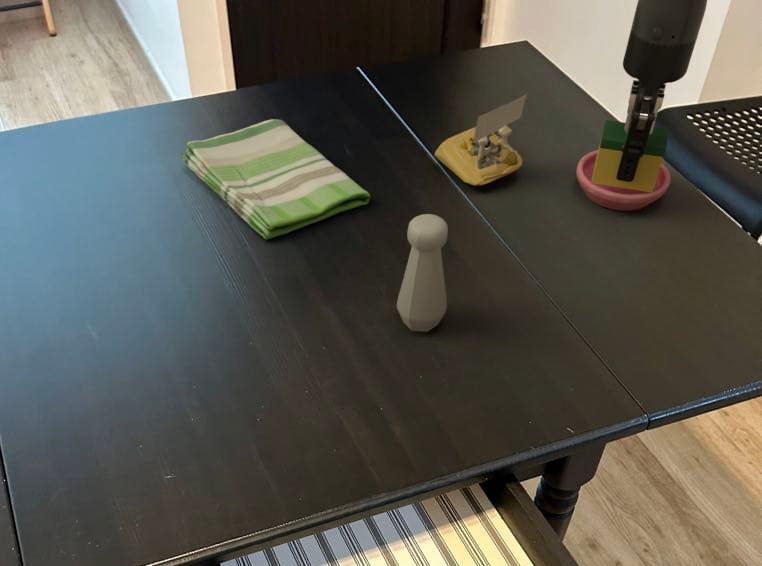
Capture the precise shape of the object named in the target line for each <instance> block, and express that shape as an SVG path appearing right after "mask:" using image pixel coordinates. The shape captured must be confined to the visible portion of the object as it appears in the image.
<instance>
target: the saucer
mask: <svg viewBox="0 0 762 566" xmlns="http://www.w3.org/2000/svg"><path fill="white" fill-rule="evenodd" d="M597 154H598V149H596V150H592V151H590V152H588V153H587V154H585V155H584V156H582V157H581V158H580V160H579V161H578V162H577V167H576V171H575V172H576V179H577V181H578V183H579V186H580V187H581V189H582V190H583V191H584V194H585V195H586V196H587V198H588V199H589V200H591V201H592V202H593V203H595V204H596V205H599V206H601V207H603V208H607V209H610V210H615V211H622V212H623V211H624V212H625V211H637V210H640V209H643V208H645V207H647V206H649V205H650V204H652V203H654V202H656V201H657V200H659V198H661V197H662V196H664V195H665V193H666V192H667V191H668V190H669V186H670V184H671V179H672V178H671V174H670V171H669V169H668V168H667V167H666V165H664V164H663V162H662V163H661V167H660V170H659V173H658V176H657V179H656V183H655V186H654V189H653V192H646V191H639V190H632V189H626V188H619V187H612V186H606V185H599V184H592V183H591V180H592V176H593V171H594V166H595V162H596V158H597Z"/></svg>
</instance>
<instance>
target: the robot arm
mask: <svg viewBox="0 0 762 566" xmlns="http://www.w3.org/2000/svg"><path fill="white" fill-rule="evenodd" d="M707 4H708V0H637V4H636V7H635V11H634V15H633V16H634V17H633V20H632V23H631V27H630V32H629V35H628V39H627V43H626V47H625V51H624V56H623V60H622V67H623V70H624V72H625V73H626V74H627V75H628V76H630V77H631V78H633V80H632V84H631V88H630V93H629V98H628V106H627V111H626V113H627V115H626V118H625V121H624V123H625V126H624V130H625V132H627V135H626V139H625V143H624V145H623V146H622V152H623V153H622V157H621V161H620V165H619V168H618V172H617V177H616V178H617V180H620V181H626V182H631V181H633V180H634V177H635V173H636V170H637V166H638V163H639V159H640V157H642V156H643V154H644V153H645V147H646V143H647V140H648V137H649V135H650V134H651V133H652V132H653V128H654V127H655V124H656V120H657V117H658V113H659V111H660V110H661V108H662V107H663V102H664V99H665V90H666V86H667V84H668V83H670V84H672V83H675V82H677V81H679V80H681V79H682V78H683V77H684V76H685V75H686V74H687V72H688V68H689V66H690V62H691V59H692V55H693V52H694V49H695V46H696V42H697V40H698V37H699V33H700V29H701V26H702V23H703V20H704V17H705V14H706V10H707ZM630 141H638V142H641V144H636V143H630Z"/></svg>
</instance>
